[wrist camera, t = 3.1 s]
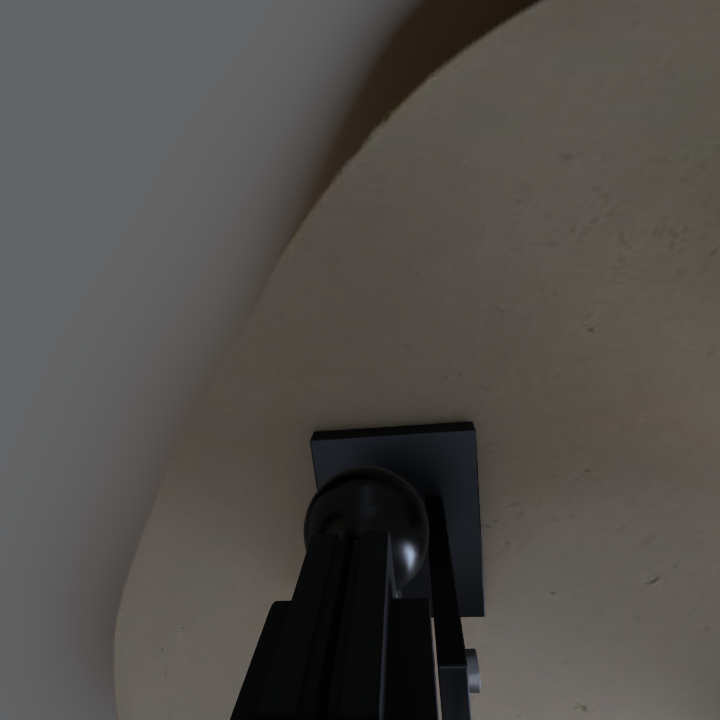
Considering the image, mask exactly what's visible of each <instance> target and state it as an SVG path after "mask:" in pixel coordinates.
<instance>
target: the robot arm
mask: <svg viewBox="0 0 720 720" xmlns="http://www.w3.org/2000/svg"><path fill="white" fill-rule="evenodd" d="M230 720H439V717H438V703H437V690H436V676H435V663H434V650H433V638H432V626H431V614H430V603H429V597H427V598H397V595H396V586H395V577H394V567H393V558H392V548H391V539H390V533H389V531H383V532H364V534H363V539H361V540H354V544H353V551H352V557H350V550H349V543H348V540H340V538H339V535H338V534H337V533H334V534H313V535H312V537H311V539H310V543H309V546H308V549H307V552H306V555H305V559H304V562H303V565H302V568H301V572H300V575H299V578H298V581H297V584H296V588H295V591H294V594H293V597H292V600H291V601H275V602H274V603H273V604H272V606H271V608H270V611H269V613H268V616H267V619H266V622H265V624H264V627H263V630H262V633H261V635H260V638H259V641H258V644H257V647H256V649H255V652H254V655H253V658H252V660H251V663H250V666H249V669H248V671H247V674H246V677H245V680H244V682H243V685H242V688H241V691H240V693H239V696H238V699H237V702H236V705H235V707H234V710H233V713H232V716H231V718H230Z"/></svg>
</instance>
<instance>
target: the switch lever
mask: <svg viewBox="0 0 720 720" xmlns="http://www.w3.org/2000/svg"><path fill="white" fill-rule="evenodd" d="M383 531H389V533H390V539H391V548H392V558H393V567H394V577H395V586H396V595H397V598H402V592H401V588H403V587H404V586H405V585H407V584H408V583H409V582H410V581H411V580H412V579H413V577H414V576H415V575H416V574H417V572H418V571H419V569H420V567H421V566H422V564H423V561H424V559H425V556H426V553H427V549H428V545H429V521H428V516H427V512H426V509H425V507H424V504H423V502H422V500H421V498H420V496H419V495H418V494H417V492H416V491H415V489H414V488H413V487H412V486H411V485H410V484H409V483H408V482H407V481H406V480H405V479H404V478H402V477H401V476H399V475H398V474H396V473H394V472H392V471H390V470H388V469H385V468H382V467H378V466H369V465H363V466H356V467H351V468H348V469H345V470H342V471H340V472H338V473H337V474H335V475H333V476H332V477H330V478H329V479H328V480H327V481H326V482H325V483H324V484H323V485H321V487H320V488H319V489H318V490H317V492H316V493H315V495H314V496H313V498H312V500H311V502H310V504H309V507H308V509H307V513H306V517H305V522H304V543H305V548H306V552H307V549H308V546H309V543H310V539H311V537H312V535H313V534H334V533H337V534H338V535H339V538H340V540H348V543H349V550H350V557H352V551H353V544H354V540H361V539H363V534H364V532H383Z"/></svg>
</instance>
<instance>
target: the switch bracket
mask: <svg viewBox="0 0 720 720" xmlns="http://www.w3.org/2000/svg"><path fill="white" fill-rule="evenodd" d="M310 444H311V451H312V458H313V465H314V471H315V478H316V485H317V490H318V489H319V488H320V487H321V485H323V484H324V483H325V482H326V481H327V480H328V479H329V478H330V477H332V476H333V475H335V474H337V473H338V472H340V471H342V470H345V469H348V468H351V467H356V466H363V465H369V466H378V467H382V468H385V469H388V470H390V471H392V472H394V473H396V474H398V475H399V476H401V477H402V478H404V479H405V480H406V481H407V482H408V483H409V484H410V485H411V486H412V487H413V488H414V489H415V491H416V492H417V494H418V495H419V496H420V498H421V500H422V502H423V504H424V507H425V509H426V512H427V516H428V521H429V545H428V549H427V553H426V556H425V559H424V561H423V564H422V566H421V567H420V569H419V571H418V572H417V574H416V575H415V576H414V577H413V579H412V580H411V581H410V582H409V583H408V584H407V585H405V586H404V587H403V588H401V592H402V598H427V597H429V603H430V614H431V618H434V626H435V639H436V651H437V664H438V676H439V688H440V699H441V711H442V720H471V710H470V694H469V693H480V691H481V684H480V674H479V666H478V659H477V653H476V650H475V649H465V645H464V638H463V631H462V625H461V618H460V617H484V616H485V600H484V581H483V561H482V542H481V523H480V503H479V484H478V464H477V445H476V430H475V427H474V424H473V422H459V423H444V424H429V425H414V426H399V427H384V428H368V429H353V430H338V431H323V432H314V433H313V435H312V438H311V440H310Z"/></svg>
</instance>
